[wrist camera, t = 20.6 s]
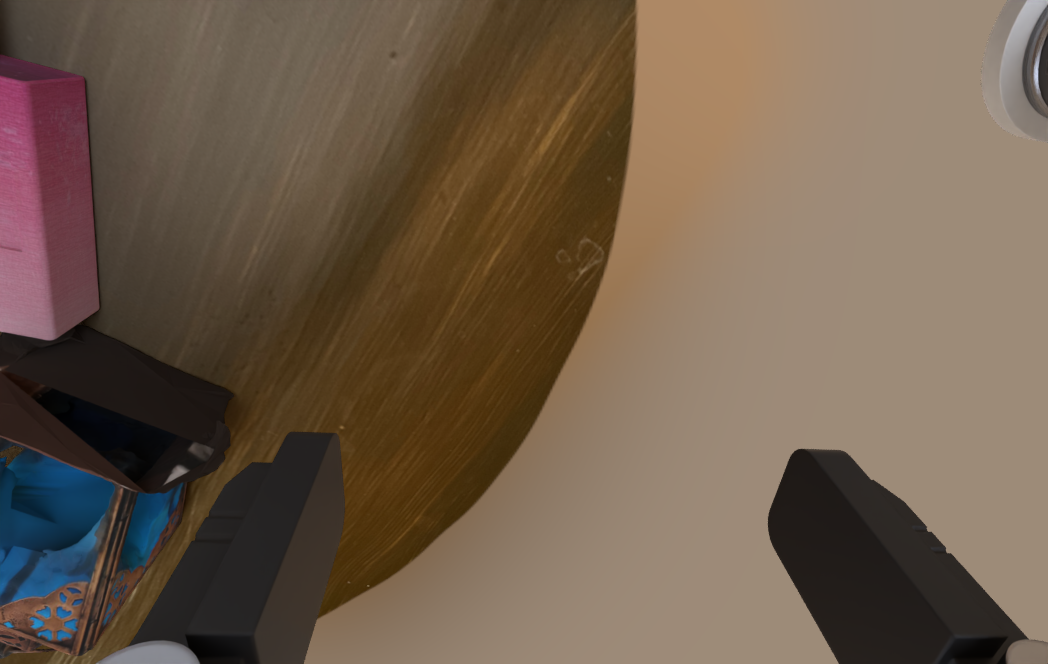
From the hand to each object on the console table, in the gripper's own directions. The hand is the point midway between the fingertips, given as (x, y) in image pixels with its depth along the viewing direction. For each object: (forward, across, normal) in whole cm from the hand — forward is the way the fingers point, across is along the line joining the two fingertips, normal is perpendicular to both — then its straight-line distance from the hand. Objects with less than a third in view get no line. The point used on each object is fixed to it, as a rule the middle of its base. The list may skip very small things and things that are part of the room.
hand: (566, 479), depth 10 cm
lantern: (+28, +29, +24) cm, 47 cm away
